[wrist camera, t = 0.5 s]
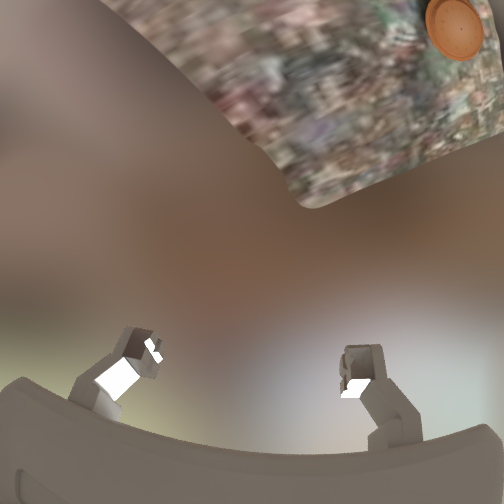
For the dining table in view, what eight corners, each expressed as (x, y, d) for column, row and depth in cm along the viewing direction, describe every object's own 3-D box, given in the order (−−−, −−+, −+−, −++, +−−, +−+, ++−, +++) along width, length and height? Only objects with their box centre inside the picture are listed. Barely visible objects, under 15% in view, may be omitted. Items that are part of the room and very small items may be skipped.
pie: (418, -22, 19) (433, -20, 17) (476, 8, 19) (492, 14, 16) (410, 42, 32) (423, 49, 29) (465, 64, 32) (479, 73, 29)
